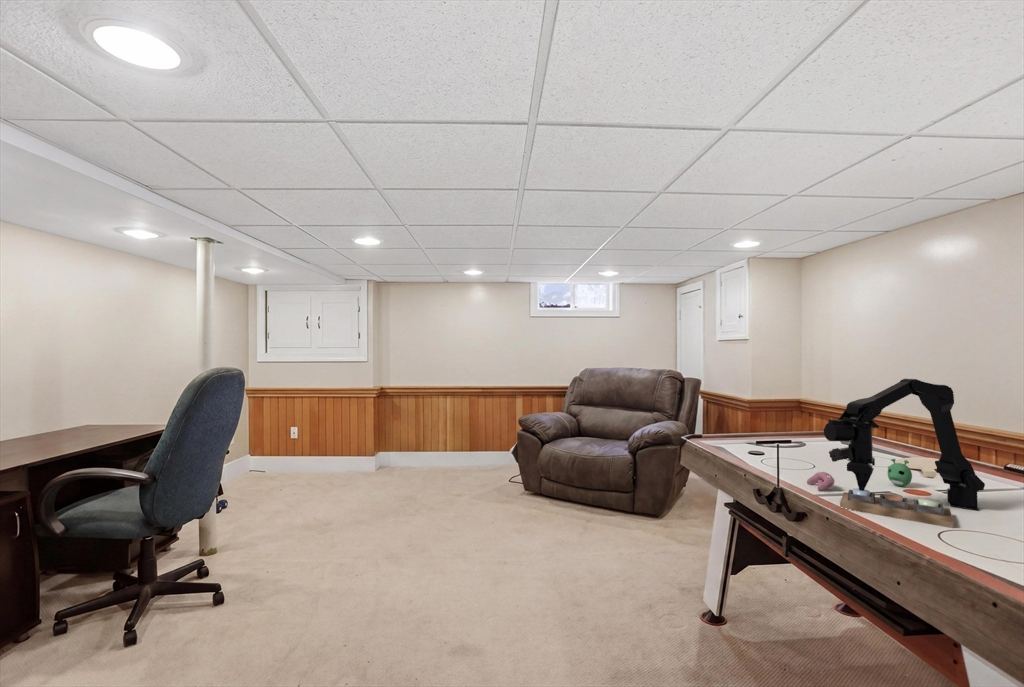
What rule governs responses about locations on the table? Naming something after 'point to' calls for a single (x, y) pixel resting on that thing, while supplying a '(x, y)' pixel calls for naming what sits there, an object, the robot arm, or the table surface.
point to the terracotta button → (893, 497)
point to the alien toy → (899, 473)
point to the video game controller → (821, 480)
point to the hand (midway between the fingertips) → (861, 490)
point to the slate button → (861, 492)
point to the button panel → (898, 509)
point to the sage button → (928, 502)
